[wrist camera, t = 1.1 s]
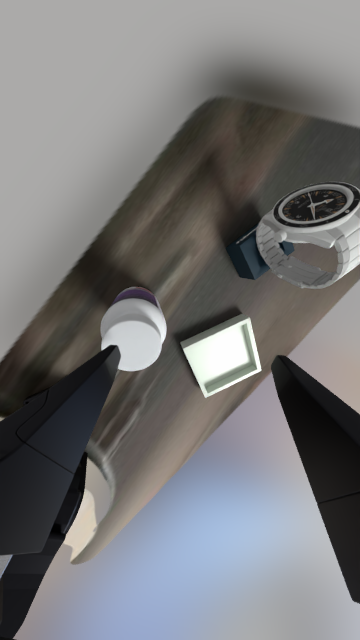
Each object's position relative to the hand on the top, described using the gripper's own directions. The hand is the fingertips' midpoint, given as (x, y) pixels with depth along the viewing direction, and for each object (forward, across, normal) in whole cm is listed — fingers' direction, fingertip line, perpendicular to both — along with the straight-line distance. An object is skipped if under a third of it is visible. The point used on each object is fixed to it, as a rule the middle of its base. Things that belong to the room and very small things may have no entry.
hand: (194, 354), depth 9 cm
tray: (+11, -5, +12) cm, 17 cm away
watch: (+16, -7, -2) cm, 18 cm away
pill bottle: (+10, +7, +3) cm, 13 cm away
